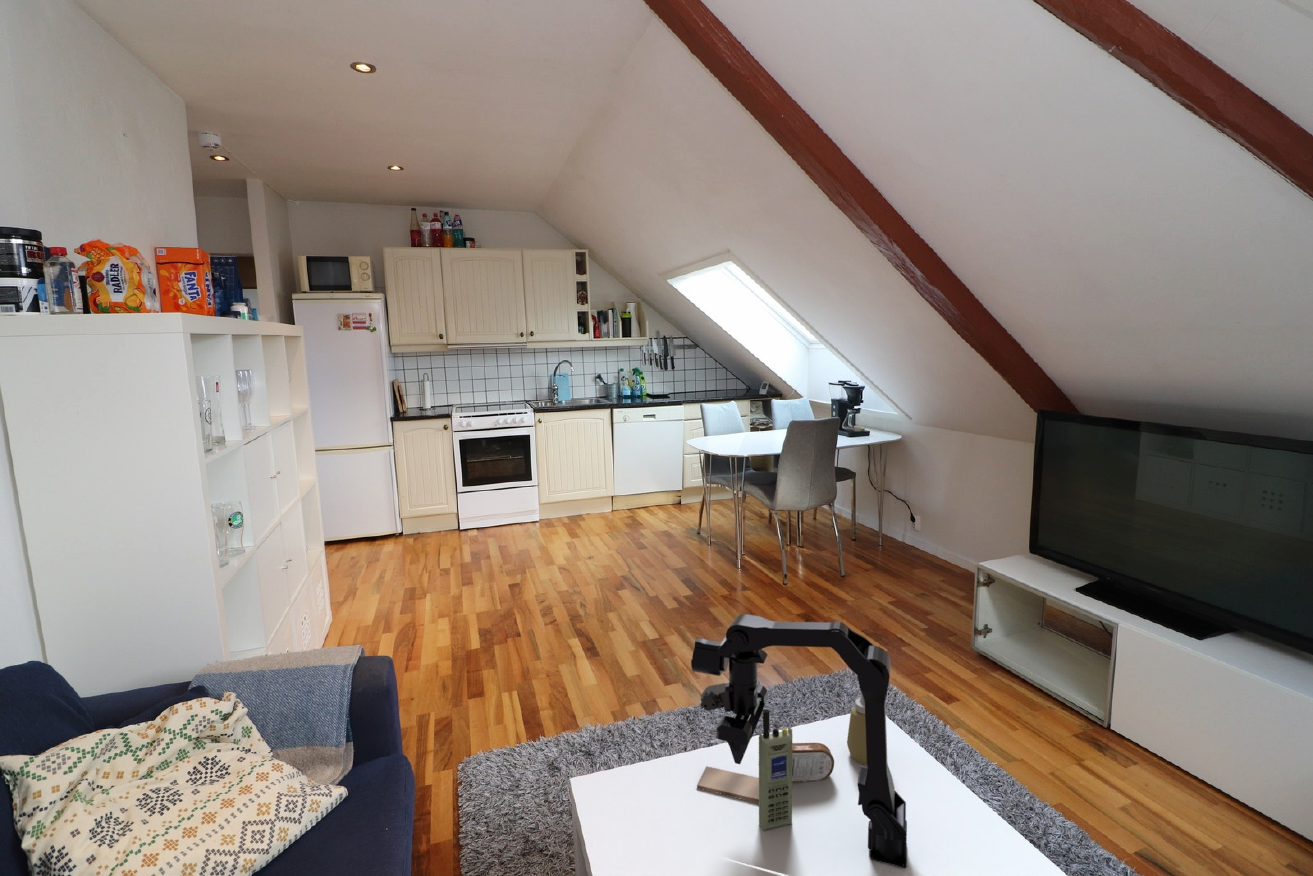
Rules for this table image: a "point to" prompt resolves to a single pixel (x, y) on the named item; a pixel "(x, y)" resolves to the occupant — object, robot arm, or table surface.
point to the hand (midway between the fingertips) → (743, 750)
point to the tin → (811, 762)
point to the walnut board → (730, 784)
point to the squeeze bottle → (857, 732)
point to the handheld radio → (775, 776)
